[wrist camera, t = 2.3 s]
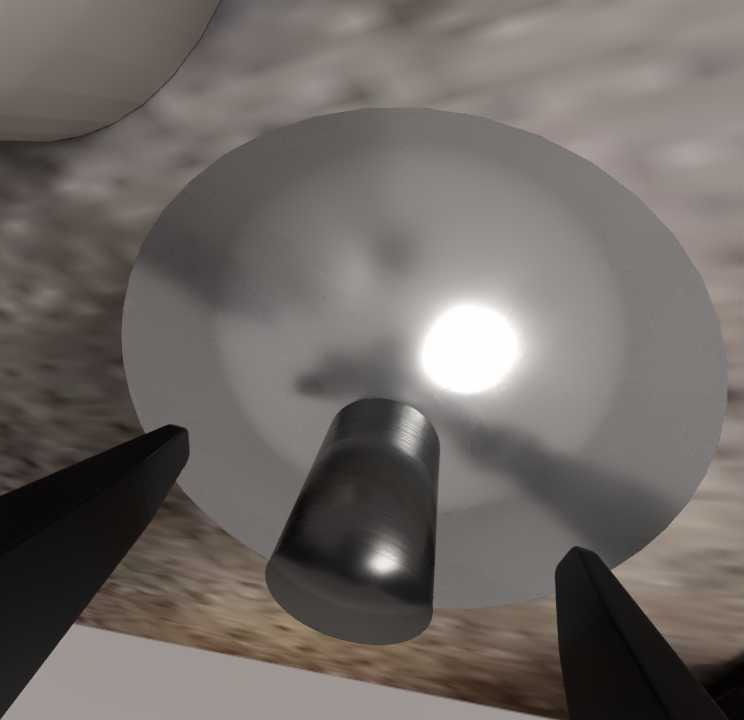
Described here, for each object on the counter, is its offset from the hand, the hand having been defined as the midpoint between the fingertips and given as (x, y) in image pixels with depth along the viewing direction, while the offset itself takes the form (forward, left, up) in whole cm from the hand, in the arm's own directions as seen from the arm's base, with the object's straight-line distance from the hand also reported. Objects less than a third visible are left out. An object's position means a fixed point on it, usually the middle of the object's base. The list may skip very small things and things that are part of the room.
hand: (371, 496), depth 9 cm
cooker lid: (0, 0, -3) cm, 3 cm away
